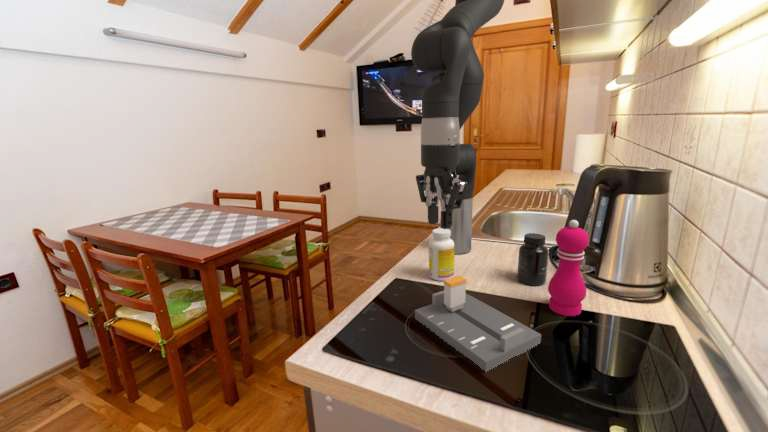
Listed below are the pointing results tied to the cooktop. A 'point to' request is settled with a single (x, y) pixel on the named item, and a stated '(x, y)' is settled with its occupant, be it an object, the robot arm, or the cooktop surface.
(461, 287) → the fader knob
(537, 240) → the supplement bottle
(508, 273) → the cooktop surface
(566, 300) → the pepper mill
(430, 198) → the robot arm
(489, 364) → the fader console
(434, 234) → the supplement bottle
